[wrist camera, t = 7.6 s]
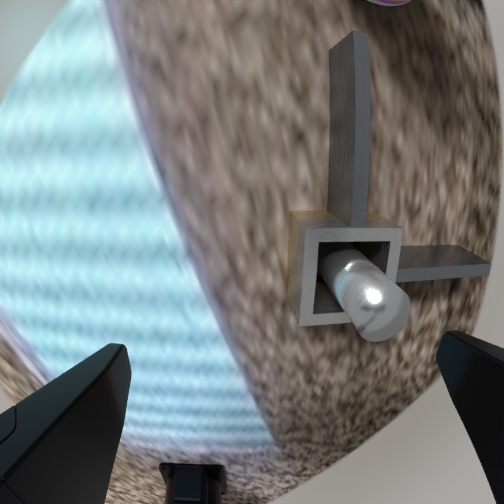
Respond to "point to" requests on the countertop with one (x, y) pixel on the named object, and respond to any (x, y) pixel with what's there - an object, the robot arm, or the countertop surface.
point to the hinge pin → (363, 291)
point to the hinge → (357, 204)
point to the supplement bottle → (389, 2)
